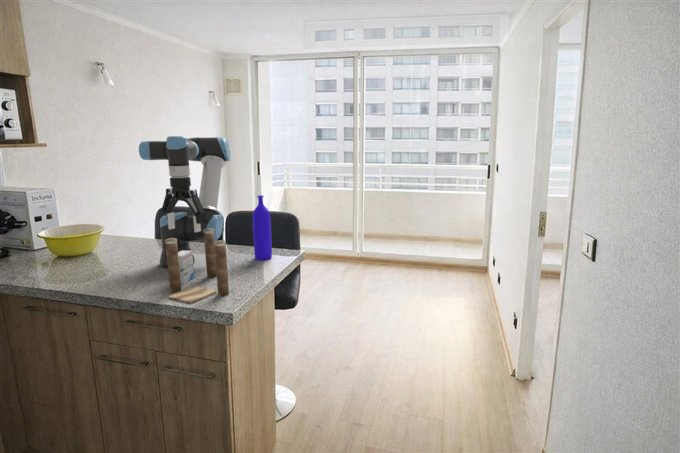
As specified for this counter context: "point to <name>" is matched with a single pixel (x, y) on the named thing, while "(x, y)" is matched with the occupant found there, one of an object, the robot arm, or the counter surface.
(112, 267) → the counter surface
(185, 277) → the ink box
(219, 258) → the corner post
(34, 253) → the counter surface
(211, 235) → the gate post
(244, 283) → the counter surface
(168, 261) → the gate post
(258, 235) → the bottle
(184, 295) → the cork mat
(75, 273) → the counter surface
